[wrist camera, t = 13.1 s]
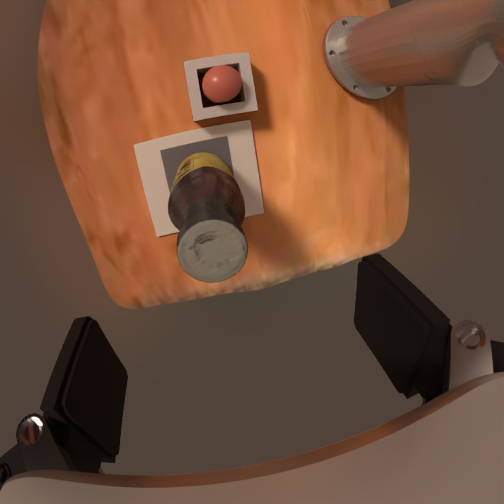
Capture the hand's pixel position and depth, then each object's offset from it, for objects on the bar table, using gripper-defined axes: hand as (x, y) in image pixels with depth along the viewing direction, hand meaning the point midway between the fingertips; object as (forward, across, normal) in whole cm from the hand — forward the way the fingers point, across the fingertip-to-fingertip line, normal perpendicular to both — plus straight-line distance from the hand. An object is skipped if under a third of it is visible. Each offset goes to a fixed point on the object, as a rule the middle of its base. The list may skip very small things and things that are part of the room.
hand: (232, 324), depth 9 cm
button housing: (+27, -3, -10) cm, 29 cm away
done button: (+26, -3, -10) cm, 28 cm away
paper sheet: (+27, +1, 0) cm, 27 cm away
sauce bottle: (+27, +1, 0) cm, 27 cm away
